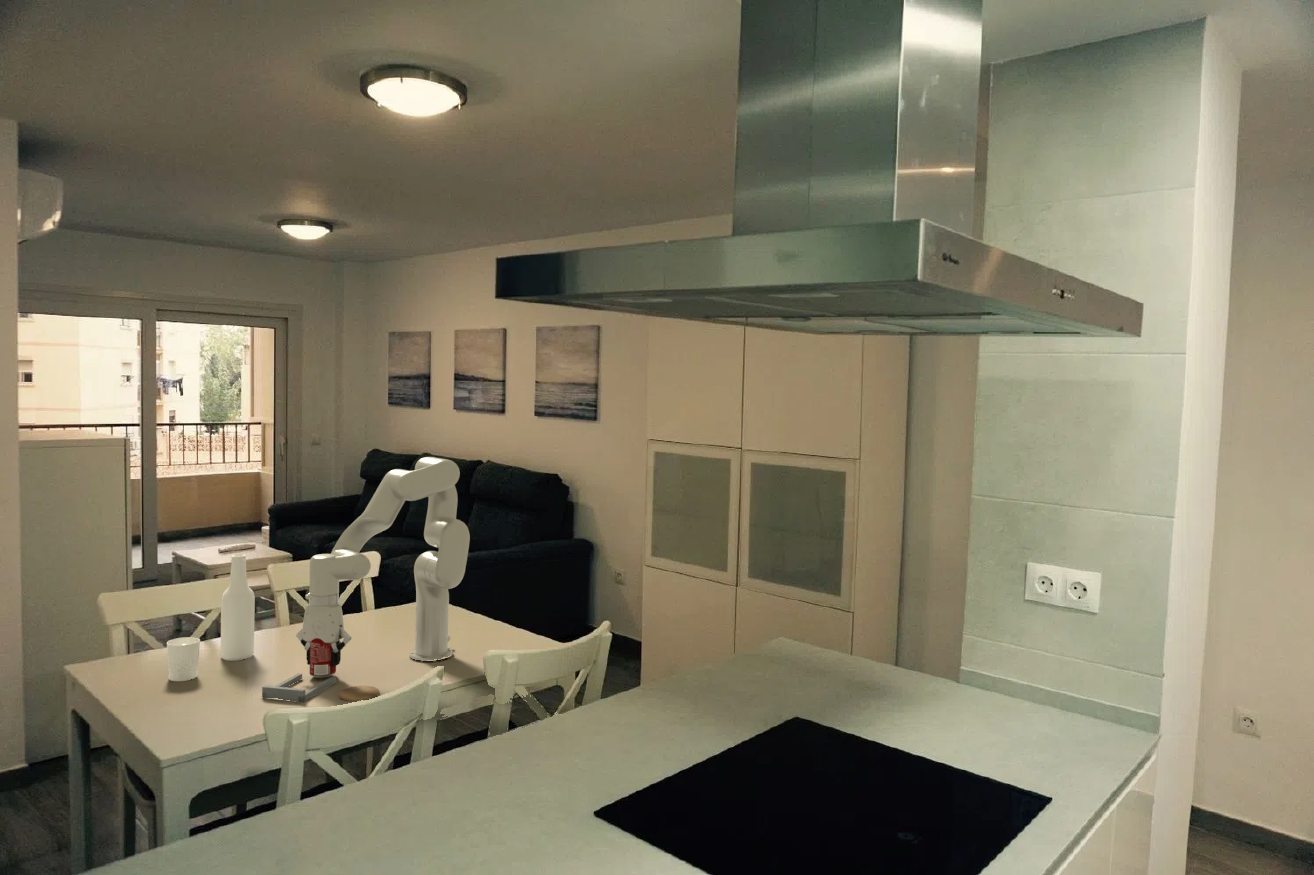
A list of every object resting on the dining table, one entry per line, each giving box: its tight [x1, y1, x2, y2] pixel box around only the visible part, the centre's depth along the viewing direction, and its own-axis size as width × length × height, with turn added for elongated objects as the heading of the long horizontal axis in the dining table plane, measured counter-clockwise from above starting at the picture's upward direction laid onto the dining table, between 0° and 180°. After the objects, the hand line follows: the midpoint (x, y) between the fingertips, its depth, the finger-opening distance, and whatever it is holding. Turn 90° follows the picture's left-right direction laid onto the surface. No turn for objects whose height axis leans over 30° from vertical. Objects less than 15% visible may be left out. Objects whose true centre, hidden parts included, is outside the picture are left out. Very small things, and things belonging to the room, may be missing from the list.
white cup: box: [166, 636, 201, 682], centre depth 232 cm, size 8×8×10 cm
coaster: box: [337, 685, 380, 702], centre depth 224 cm, size 10×10×1 cm
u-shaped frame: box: [261, 673, 337, 703], centre depth 226 cm, size 16×11×3 cm
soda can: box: [309, 638, 337, 679], centre depth 236 cm, size 7×7×12 cm
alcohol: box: [220, 553, 256, 662], centre depth 251 cm, size 9×9×30 cm
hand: (323, 663), depth 236 cm, fingers closed on soda can, 6 cm apart
